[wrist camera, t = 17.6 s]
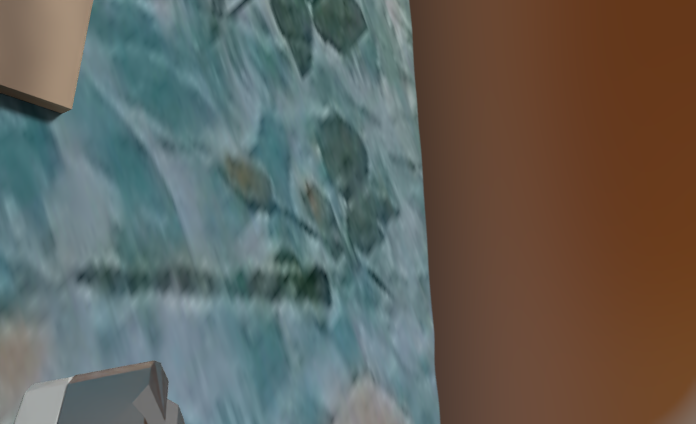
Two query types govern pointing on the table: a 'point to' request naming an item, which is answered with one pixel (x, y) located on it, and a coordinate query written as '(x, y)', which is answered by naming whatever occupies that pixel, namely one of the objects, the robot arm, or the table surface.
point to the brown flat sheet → (42, 50)
